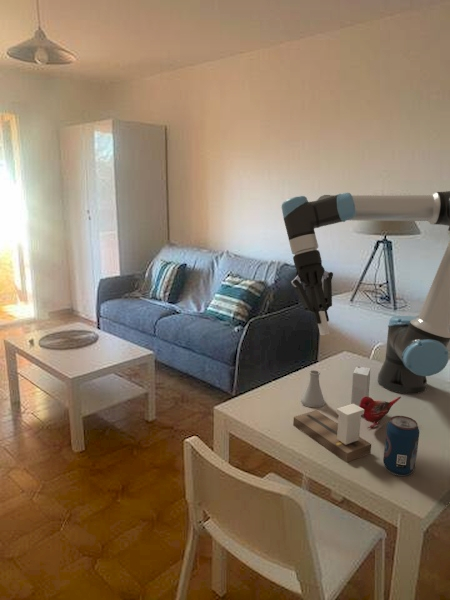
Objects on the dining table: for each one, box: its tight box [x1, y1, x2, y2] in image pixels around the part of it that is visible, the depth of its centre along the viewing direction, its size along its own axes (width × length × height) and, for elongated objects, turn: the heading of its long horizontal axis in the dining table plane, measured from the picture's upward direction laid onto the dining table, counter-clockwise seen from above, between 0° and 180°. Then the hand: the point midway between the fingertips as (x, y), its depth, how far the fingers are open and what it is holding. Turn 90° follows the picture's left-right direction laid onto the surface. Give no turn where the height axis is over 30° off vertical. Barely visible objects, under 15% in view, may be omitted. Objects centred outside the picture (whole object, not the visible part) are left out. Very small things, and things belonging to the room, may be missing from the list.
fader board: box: [292, 409, 372, 463], centre depth 118 cm, size 20×8×3 cm, turn 30°
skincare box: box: [350, 366, 371, 406], centre depth 133 cm, size 6×4×12 cm
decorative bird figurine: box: [359, 396, 402, 429], centre depth 124 cm, size 3×18×10 cm, turn 123°
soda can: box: [383, 415, 420, 477], centre depth 105 cm, size 7×7×12 cm
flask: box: [300, 369, 326, 408], centre depth 137 cm, size 7×7×10 cm
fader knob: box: [336, 403, 364, 445], centre depth 112 cm, size 4×6×8 cm, turn 120°
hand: (325, 334), depth 128 cm, fingers closed
